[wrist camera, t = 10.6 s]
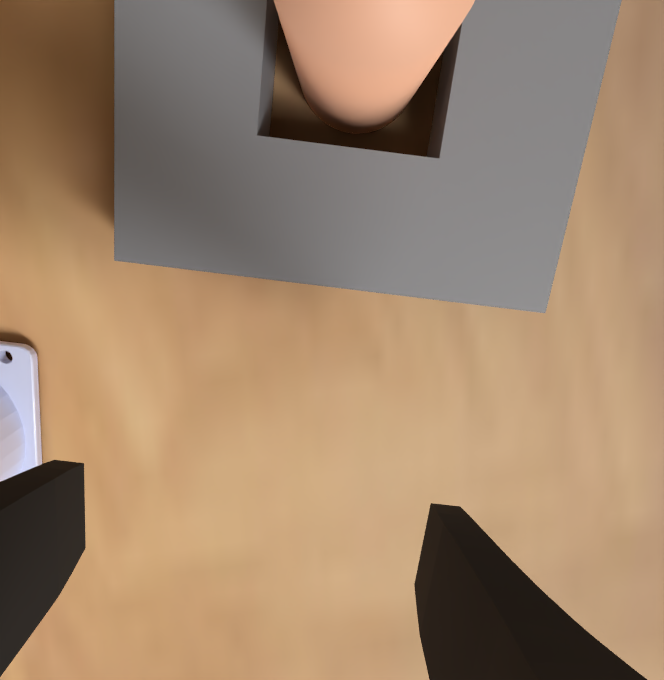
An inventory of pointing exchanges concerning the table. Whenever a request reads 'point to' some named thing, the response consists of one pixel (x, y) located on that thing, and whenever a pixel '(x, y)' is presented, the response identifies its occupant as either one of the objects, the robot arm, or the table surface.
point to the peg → (366, 54)
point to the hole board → (355, 155)
